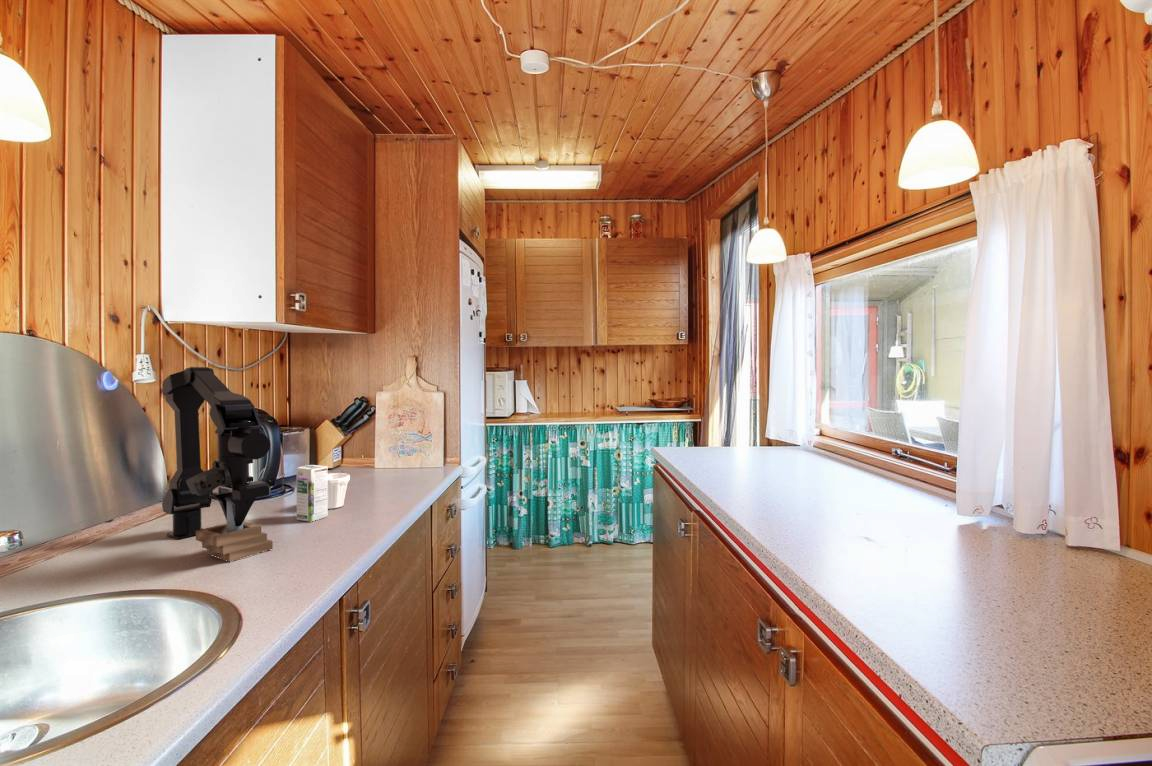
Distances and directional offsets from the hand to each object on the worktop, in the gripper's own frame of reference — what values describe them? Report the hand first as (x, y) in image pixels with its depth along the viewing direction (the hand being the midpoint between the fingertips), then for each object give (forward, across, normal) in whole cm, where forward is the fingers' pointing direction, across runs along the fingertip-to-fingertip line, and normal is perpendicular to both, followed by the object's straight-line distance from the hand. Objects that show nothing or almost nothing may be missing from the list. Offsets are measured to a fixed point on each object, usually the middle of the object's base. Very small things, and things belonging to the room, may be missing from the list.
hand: (234, 524), depth 114 cm
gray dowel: (+4, 0, 0) cm, 4 cm away
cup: (+7, -17, +35) cm, 40 cm away
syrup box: (+7, -11, +25) cm, 28 cm away
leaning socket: (+6, 0, 0) cm, 6 cm away
